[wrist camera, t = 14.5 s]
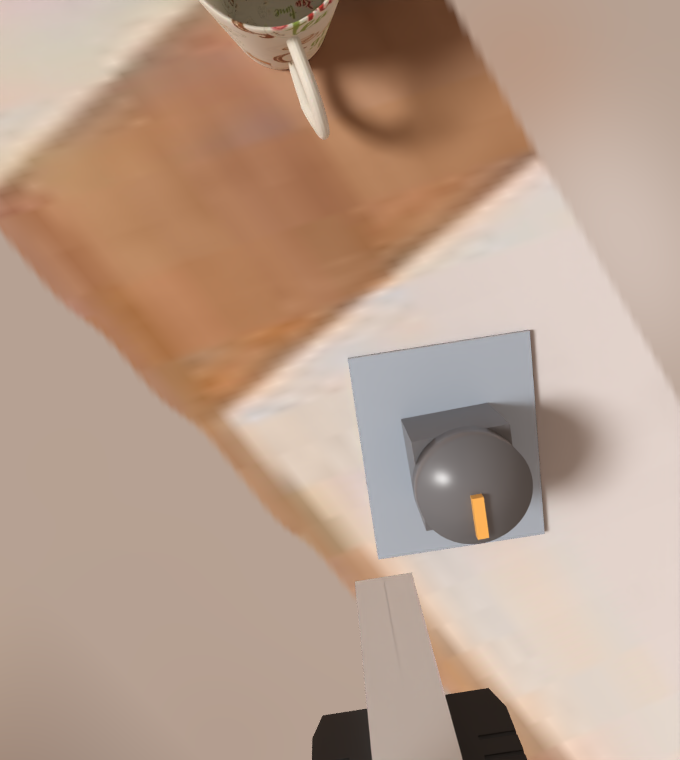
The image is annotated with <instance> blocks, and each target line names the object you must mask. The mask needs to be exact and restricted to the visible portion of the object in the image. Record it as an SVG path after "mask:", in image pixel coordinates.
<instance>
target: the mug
mask: <svg viewBox="0 0 680 760" xmlns="http://www.w3.org/2000/svg"><path fill="white" fill-rule="evenodd" d="M199 1H200V2H201V4H202V5H203V6H204V7H205V8H206V9H207V10H208V12H209V13H210V14H211V15H212V16H213V17H214V18H215V19H216V21H217V22H218V23H219V24H220V25H221V26H222V27H223V28H224V30H225V31H226V32H227V33H228V34H229V35H230V36H231V37H232V39H233V40H234V41H235V42H236V43H237V44H238V45H239V46H240V48H241V49H242V50H243V51H244V52H245V53H246V54H247V55H248V56H249V57H250V58H251V59H253V60H254V61H256V62H257V63H259V64H261V65H263V66H265V67H268V68H271V69H277V70H284V69H290V73H291V76H292V80H293V83H294V86H295V89H296V92H297V95H298V98H299V102H300V105H301V108H302V110H303V112H304V114H305V116H306V118H307V119H308V121H309V123H310V124H311V126H312V127H313V129H314V130H315V132H316V133H317V135H318V136H319V137H320V138H321V139H323V140H325V139H327V138H328V137H329V124H328V120H327V116H326V112H325V108H324V105H323V102H322V98H321V95H320V92H319V89H318V86H317V83H316V80H315V78H314V75H313V72H312V69H311V67H310V64H309V61H308V60H309V59H310V58H311V57H312V56H313V55H314V54H315V53H316V52H317V51H318V49H319V48H320V46H321V44H322V43H323V40H324V38H325V36H326V33H327V31H328V28H329V25H330V23H331V20H332V17H333V15H334V12H335V9H336V7H337V4H338V1H339V0H199Z"/></svg>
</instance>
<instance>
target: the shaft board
mask: <svg viewBox="0 0 680 760" xmlns="http://www.w3.org/2000/svg"><path fill="white" fill-rule="evenodd" d="M348 362H349V369H350V375H351V382H352V388H353V395H354V401H355V408H356V415H357V421H358V428H359V434H360V441H361V447H362V454H363V461H364V467H365V474H366V480H367V487H368V493H369V500H370V507H371V513H372V520H373V526H374V533H375V539H376V546H377V553H378V559H384V558H390V557H397V556H403V555H410V554H416V553H423V552H429V551H436V550H442V549H449V548H455V547H462V546H468V545H475V544H462V543H457V542H453V541H451V540H448V539H446V538H444V537H442V536H440V535H439V534H438V533H436V532H435V531H434V530H430V531H426V529H425V526H424V524H423V521H422V518H421V515H420V513H419V510H418V507H417V504H416V502H415V499H414V494H413V488H412V482H411V476H410V470H409V464H408V459H407V453H406V447H405V441H404V435H403V429H402V423H401V419H403V418H409V417H414V416H419V415H425V414H430V413H435V412H440V411H446V410H451V409H456V408H462V407H467V406H472V405H477V404H483V403H488V404H489V405H490V406H491V407H493V408H494V409H495V410H496V411H497V412H498V413H499V414H500V415H501V416H502V417H503V418H504V419H505V420H506V421H508V422H509V423H510V429H511V437H512V445H513V447H514V448H515V449H516V450H517V451H518V452H519V453H520V454H521V455H522V456H523V458H524V459H525V460H526V462H527V464H528V466H529V468H530V471H531V474H532V479H533V494H532V499H531V503H530V505H529V508H528V510H527V512H526V514H525V515H524V517H523V518H522V520H521V521H520V522H519V523H518V524H517V525H516V526H515V527H514V528H513V529H512V530H511V531H509V532H508V533H506V534H505V535H503V536H501V537H499V538H498V539H495V540H492V541H490V542H494V541H501V540H507V539H514V538H520V537H527V536H534V535H540V534H545V532H544V519H543V505H542V491H541V478H540V464H539V450H538V437H537V423H536V409H535V396H534V382H533V368H532V355H531V341H530V331H529V330H525V331H519V332H512V333H506V334H500V335H493V336H487V337H480V338H474V339H467V340H461V341H455V342H448V343H442V344H435V345H429V346H423V347H416V348H410V349H403V350H397V351H390V352H384V353H378V354H371V355H365V356H358V357H352V358H348ZM486 543H488V542H486ZM480 544H481V543H480Z"/></svg>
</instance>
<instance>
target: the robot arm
mask: <svg viewBox="0 0 680 760" xmlns="http://www.w3.org/2000/svg"><path fill="white" fill-rule="evenodd" d="M355 587H356V598H357V608H358V618H359V628H360V639H361V649H362V660H363V670H364V680H365V691H366V701H367V709H362V710H356V711H349V712H343V713H336V714H330V715H323V716H322V718H321V720H320V723H319V725H318V727H317V730H316V732H315V734H314V736H313V741H312V760H527V758H526V755H525V754H524V751H523V748H522V745H521V743H520V740H519V738H518V735H517V734H516V730H515V728H514V725H513V723H512V720H511V718H510V715H509V713H508V710H507V708H506V706H505V705H504V704H503V703H502V702H501V701H500V700H499V699H498V698H497V697H496V696H495V695H494V694H493V692H492V691H491V690H490V689H489V688H486V689H480V690H473V691H467V692H460V693H454V694H448V695H445V693H444V690H443V686H442V682H441V679H440V675H439V671H438V668H437V664H436V660H435V657H434V653H433V649H432V646H431V642H430V638H429V635H428V631H427V627H426V624H425V620H424V616H423V613H422V609H421V605H420V602H419V598H418V594H417V591H416V587H415V583H414V580H413V576H412V573H407V574H400V575H394V576H388V577H381V578H375V579H369V580H362V581H356V582H355Z"/></svg>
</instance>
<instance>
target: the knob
mask: <svg viewBox="0 0 680 760" xmlns="http://www.w3.org/2000/svg"><path fill="white" fill-rule="evenodd" d="M401 423H402V429H403V435H404V441H405V447H406V453H407V459H408V464H409V470H410V476H411V482H412V488H413V494H414V499H415V502H416V504H417V507H418V510H419V513H420V515H421V518H422V521H423V524H424V526H425V529H426V531H430V530H434V531H435V532H436V533H438V534H439V535H440V536H442V537H444V538H446V539H448V540H451V541H453V542H457V543H462V544H480V543H486V542H490V541H492V540H495V539H498V538H499V537H501V536H503V535H505V534H506V533H508V532H509V531H511V530H512V529H513V528H514V527H515V526H516V525H517V524H518V523H519V522H520V521H521V520H522V518H523V517H524V515H525V514H526V512H527V510H528V508H529V505H530V503H531V499H532V494H533V479H532V474H531V471H530V468H529V466H528V464H527V462H526V460H525V459H524V458H523V456H522V455H521V454H520V453H519V452H518V451H517V450H516V449H515V448H514V447H513V445H512V437H511V429H510V423H509V422H508V421H506V420H505V419H504V418H503V417H502V416H501V415H500V414H499V413H498V412H497V411H496V410H495V409H494V408H493V407H491V406H490V405H489V404H488V403H483V404H477V405H472V406H467V407H462V408H456V409H451V410H446V411H440V412H435V413H430V414H425V415H419V416H414V417H409V418H403V419H401Z"/></svg>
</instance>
